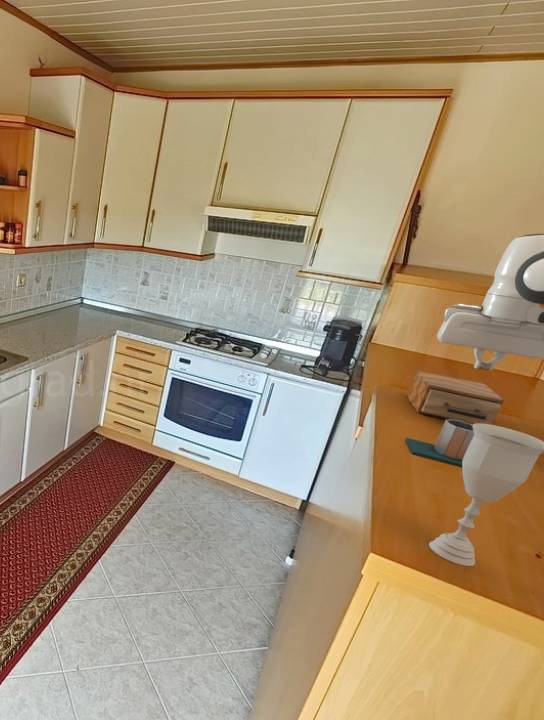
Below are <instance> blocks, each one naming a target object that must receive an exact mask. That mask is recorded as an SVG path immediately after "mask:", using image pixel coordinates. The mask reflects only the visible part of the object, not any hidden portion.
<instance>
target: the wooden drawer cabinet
mask: <svg viewBox="0 0 544 720" xmlns="http://www.w3.org/2000/svg"><path fill="white" fill-rule="evenodd" d="M431 388H433V389H437V390H442V391H447V392H452V393H456V394H461V395H466V396H471V397H475V398H480V399H485V400H489V401H493V402H495V403H500V404H501V407H500V409H499V411H498V413H497V415H496V417H495V419H494V422H493V424H492V425H494V423H495V421H496V419H497V417H498V414H499V412H500V410H501V408H502V406H503V404H504V401H505V399H504V398H502V397H501V396H500V395H499V394H498V393H496V392H495V391H494V390H493V389H492V388H490V387H489V386H487V384H485V383H481V382H476V381H471V380H465V379H460V378H455V377H451V376H446V375H440V374H435V373H430V372H426V371H422V370H421V371H420V370H417V371H416V373H415V375H414V378H413V381H412V383H411V386H410V388H409V390H408V394H407V395H406V397H407V398H408V400H409V402H410V403H411V405H412V407H413V408H414V410H415V411H416V413H417V414H422V415H427V416H431V417H435V418H440V419H442V420H443V419H444V420H449V419H452V418H447V417H443V416H439V415H434V414H430V413H426V412H422V408H423V406H424V403H425V401H426V398H427V396H428V394H429V391H430V389H431ZM452 420H456V419H452ZM458 421H461V420H458ZM463 422H465V421H463ZM466 423H469V422H466ZM470 424H472V425H473V424H474V423H470Z"/></svg>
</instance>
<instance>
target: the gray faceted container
mask: <svg viewBox="0 0 544 720" xmlns="http://www.w3.org/2000/svg"><path fill="white" fill-rule="evenodd" d="M473 436H474V431H473V425H472V424H470V423H466V422H463V421H458V420H452V419H449V420H447V419H444V423H443V425H442V427H441V429H440V432H439V434H438V436H437V439H436V440H435V444H434V445H435V446H434V448H435V450H436V452H438V453H439V454H441V455H443V456H445V457H448V458H451V459H454V460H459V461H462V460H463V458H464V455H465V453H466V451H467V449H468V447H469V445H470V443H471V440H472V438H473Z"/></svg>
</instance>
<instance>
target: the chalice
mask: <svg viewBox="0 0 544 720" xmlns="http://www.w3.org/2000/svg"><path fill="white" fill-rule="evenodd" d="M473 431H474V436H473V438H472V440H471V443H470V445H469V447H468V449H467V451H466V453H465V455H464V458H463V460H462V467H461V468H462V470H461V471H462V472H461V473H462V474H461V475H462V479H463V485H464V490H465V493H466V494H467V495H468V496H469V497H471V503H470V504H469V505H468V506H467V507H465V508H464V509H463V510H464V516H463V517H462V518H460V519H457V522H458V529H457V530H456V531H453V532H445V533H444V532H443V533H441V534H440V535H439V536H437V537H435V539H434V540H431V541H429V543H428V546H429V548H430V549H431V551H432V552H434V553H435V554H437V555H438V556H440V557H441V558H443V559H445V560H447V561H449V562H452V563H454V564H456V565H460V566H466V567H473V566H476V559H475V557H476V553H475V547H474V545H473V543H472V542H471V541H470V540H469V538H468V537H467V535H468V532H470V530H471V529H474V528H476V526H475V523H474V520H475V519H476V518H477V517H479V516H481V513H480V511H481V506H482V505H483V504H484V503H495V502H496V501H499V500H500V499H502V498H503V497H505V496H507V495H509V494H510V493H512V492H513V491H515V490H517V489H518V488H519V487H520V486H521V485H523V484H524V483H525V482H526V481H527V480H528V478H529V475H530V474H531V471H532V470H533V468H534V466H535V464H536V463H537V460H538V458H539V456H540V455H541V454H543V453H544V441H543V440H542V439H539V438H537V437H535V436H532V435H530V434H528V433H524V432H521V431H518V430H516V429H515V430H514V429H512V428H507V427H505V426H499V425H495V424H493V425H489V424H479V423H477V424H473Z"/></svg>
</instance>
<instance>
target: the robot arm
mask: <svg viewBox="0 0 544 720" xmlns="http://www.w3.org/2000/svg"><path fill="white" fill-rule="evenodd" d="M540 305H544V233H530V234H523V235H520V236H517V237H515V238H514V239H513V240H512V241H510V243H509V244H508V246H507V247H506V249H505V250H504V252H503V254H502V255H501V259H500V260H499V262H498V265H497V267H496V269H495V271H494V278H493V282H492V285H491V286H490V288H489V289H488V290H487V291H486V294H485V296H484V299H483V301H482V304H481V305H475V304H464V303H456V304H454V305H450V306H448V307H447V308H446V309H445V312H444V315H443V320H444V321H443V322H442V324H441V326H440V328H439V329H438V332H437V334H436V338H437V340H438V341H439V342H440V343H442V344H447V345H452V346H453V345H454V346H459V347H465V348H471V349H473V355H474V358H475V363H474V365H473V368H474V369H477V370H483V371H488V372H492V371H493V370H494V368H495V365H497V364H498V363H500V362H501V361H503V360H504V359H505V358H506V356H507V355H516V356H522V357H528V358H533V359H540V360H544V307H540ZM486 351H489V352H490V351H491V352H494V357H493V358H492V359H491V360H489V361H486V360H483V358H482V356H481V355H484V354H485V353H486Z"/></svg>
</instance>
